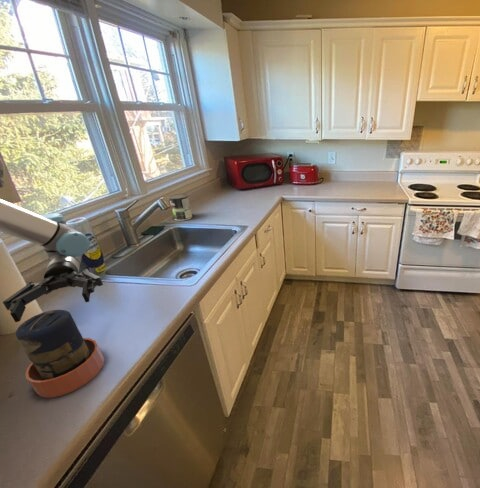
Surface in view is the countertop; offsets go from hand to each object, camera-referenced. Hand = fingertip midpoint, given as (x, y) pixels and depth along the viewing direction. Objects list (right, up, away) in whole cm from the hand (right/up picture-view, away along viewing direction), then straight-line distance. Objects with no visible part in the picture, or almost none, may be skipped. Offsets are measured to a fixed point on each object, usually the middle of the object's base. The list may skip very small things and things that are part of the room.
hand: (52, 307), depth 71 cm
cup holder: (+6, -17, 0) cm, 18 cm away
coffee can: (-18, +32, +103) cm, 109 cm away
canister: (+6, -17, 0) cm, 18 cm away
